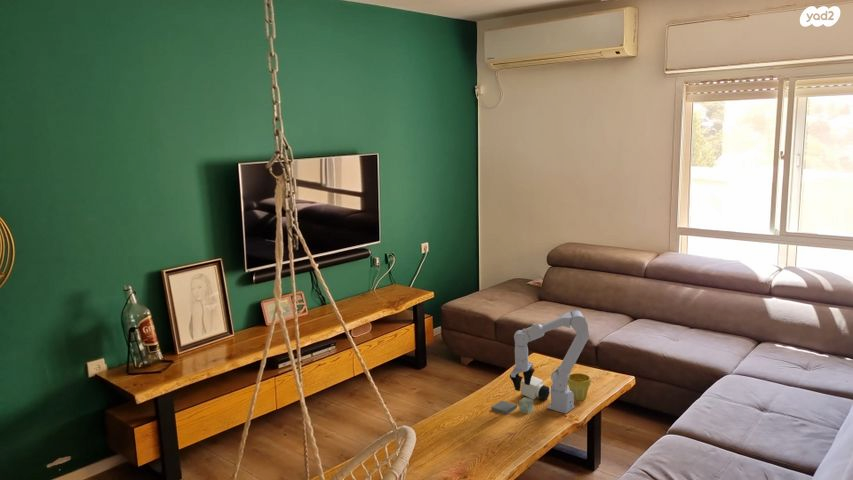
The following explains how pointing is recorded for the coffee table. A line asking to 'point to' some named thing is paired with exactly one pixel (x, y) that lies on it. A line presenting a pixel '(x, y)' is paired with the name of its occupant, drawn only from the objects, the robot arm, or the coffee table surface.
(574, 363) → the robot arm
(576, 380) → the plant pot
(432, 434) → the coffee table surface
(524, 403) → the grey green cube
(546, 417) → the coffee table surface
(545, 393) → the medicine bottle
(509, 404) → the block
